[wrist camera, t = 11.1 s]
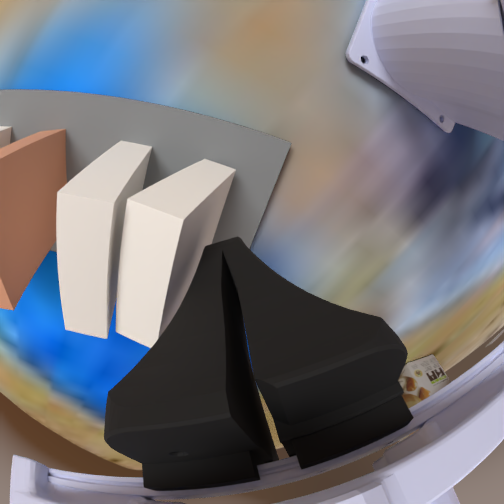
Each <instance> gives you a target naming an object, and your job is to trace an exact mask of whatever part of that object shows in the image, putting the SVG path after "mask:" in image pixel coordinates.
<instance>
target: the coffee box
mask: <svg viewBox="0 0 504 504" xmlns="http://www.w3.org/2000/svg"><path fill="white" fill-rule="evenodd" d="M398 381H399V383H400V385H401V386H402V388H403V390H404V393H403V395H402V397H403V399H404V401H405V402H406V404H407V406H408V408H410V407H412V406H414V405H416V404H417V403H419V402H421V401H423V400H424V399H426V398H428V397H429V396H431V395H432V394H434V393H436V392H437V391H439V390H440V389H442V388H443V387H445V386H446V385H448V384H449V383H451V382H450V380H449V378H448V377H447V375H446V374H445V372H444V370H443V369H442V367H441V366H440V364H439V363H438V361H437V360H436V358H435V357H434V355H433V354H432V355H429V356H427V357H424V358H421V359H418V360H415V361H412V362H409V363H407V364H406V365H405V366H404V368H403V370H402V372H401V375H400V377H399V379H398ZM418 430H419V429H418ZM416 431H417V430H416ZM416 431H415V432H416ZM413 433H414V432H413ZM413 433H411V434H413ZM411 434H409V435H408V436H410V435H411ZM408 436H406V437H404V438H402V439H400V440H399V441H402V440H403V439H405V438H407V437H408Z"/></svg>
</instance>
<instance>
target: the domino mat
mask: <svg viewBox="0 0 504 504" xmlns="http://www.w3.org/2000/svg"><path fill="white" fill-rule="evenodd" d="M0 126H7V127H12V129H11V138H10V144H11V143H13V142H16V141H18V140H20V139H23V138H25V137H28V136H30V135H32V134H35V133H38V132H40V131H48V130H58V129H66V175H67V183H68V182H69V181H70V180H71V179H73V178H74V177H75V176H76V175H77V174H78V173H80V172H81V171H82V170H83V169H84V168H86V167H87V166H88V165H89V164H91V163H92V162H93V161H94V160H96V159H97V158H98V157H99V156H101V155H102V154H103V153H105V152H106V151H107V150H109V149H110V148H111V147H113V146H114V145H115V144H117V143H118V142H120V141H126V142H131V143H137V144H142V145H147V146H151V147H152V150H151V154H150V158H149V162H148V166H147V171H146V175H145V180H144V185H143V190H144V189H146V188H148V187H149V186H151V185H153V184H155V183H157V182H159V181H161V180H163V179H165V178H167V177H168V176H170V175H172V174H174V173H176V172H178V171H180V170H182V169H184V168H186V167H189V166H191V165H193V164H195V163H197V162H199V161H201V160H203V159H207V160H210V161H213V162H216V163H219V164H222V165H225V166H228V167H230V168H233V169H236V172H235V174H234V177H233V180H232V183H231V186H230V189H229V192H228V195H227V198H226V201H225V204H224V207H223V210H222V213H221V216H220V219H219V222H218V225H217V228H216V231H215V234H214V238H213V241H212V244H214V243H217V242H220V241H224V240H227V239H230V238H234V237H237V236H238V237H240V238H241V239H242V241H243V242H244V243H245V245H246V246H247V247H248V248H249V249H250V246H251V244H252V241H253V239H254V236H255V234H256V231H257V228H258V226H259V223H260V221H261V218H262V216H263V213H264V211H265V208H266V206H267V203H268V201H269V198H270V196H271V193H272V191H273V188H274V186H275V183H276V181H277V178H278V176H279V173H280V171H281V168H282V166H283V163H284V161H285V158H286V156H287V153H288V151H289V148H290V146H291V143H290V142H288V141H285V140H283V139H280V138H277V137H274V136H271V135H268V134H265V133H262V132H259V131H256V130H253V129H250V128H247V127H244V126H241V125H237V124H234V123H231V122H227V121H224V120H220V119H217V118H213V117H209V116H206V115H202V114H198V113H194V112H190V111H186V110H182V109H177V108H173V107H168V106H164V105H159V104H154V103H149V102H143V101H138V100H132V99H126V98H120V97H113V96H106V95H98V94H90V93H80V92H69V91H55V90H28V89H12V90H0ZM50 250H51V251H55V252H57V240H56V242H55V243H54V245H53V246H52V247H51V249H50Z"/></svg>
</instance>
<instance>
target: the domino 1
mask: <svg viewBox="0 0 504 504" xmlns="http://www.w3.org/2000/svg"><path fill="white" fill-rule="evenodd" d="M66 184H67V175H66V129H58V130H48V131H40V132H38V133H35V134H32V135H30V136H28V137H25V138H23V139H20V140H18V141H16V142H13V143H11V144H9V145H7V146H5V147H3V148H0V308H3V309H9V310H14V309H15V307H16V305H17V303H18V301H19V300H20V298H21V296H22V294H23V292H24V291H25V289H26V287H27V285H28V284H29V282H30V280H31V279H32V277H33V275H34V274H35V272H36V270H37V269H38V267H39V266H40V264H41V262H42V261H43V259H44V258H45V256H46V255H47V253H48V252H49V250H50V249H51V247H52V246H53V245H54V243H55V242H56V240H57V239H56V212H57V192H58V191H59V190H60V189H61V188H62V187H63V186H65V185H66Z"/></svg>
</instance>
